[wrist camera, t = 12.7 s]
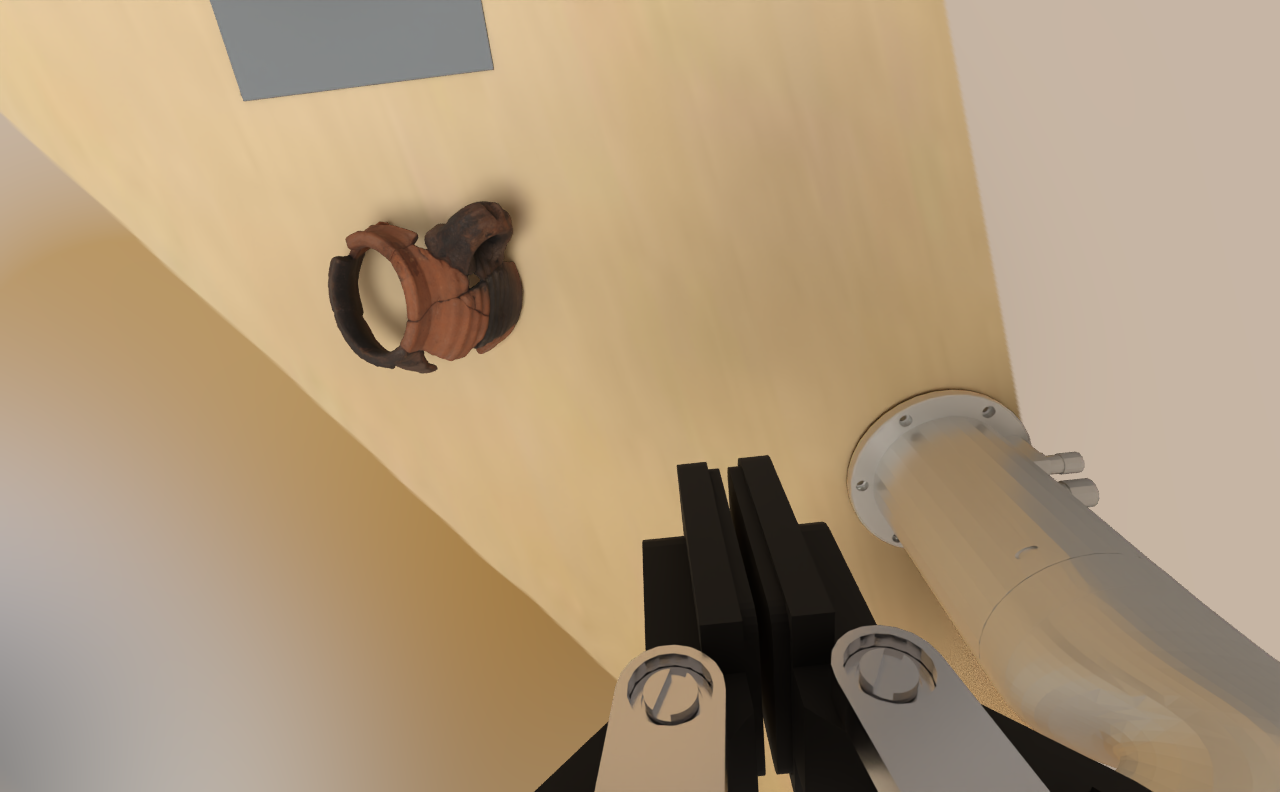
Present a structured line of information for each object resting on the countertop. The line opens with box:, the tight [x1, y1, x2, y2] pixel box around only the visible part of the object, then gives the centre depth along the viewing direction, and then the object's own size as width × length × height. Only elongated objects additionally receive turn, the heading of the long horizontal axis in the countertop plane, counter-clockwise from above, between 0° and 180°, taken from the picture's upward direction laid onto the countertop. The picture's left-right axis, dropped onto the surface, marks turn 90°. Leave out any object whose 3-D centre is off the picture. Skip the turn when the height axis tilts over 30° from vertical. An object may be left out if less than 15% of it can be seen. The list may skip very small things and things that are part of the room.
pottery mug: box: [328, 202, 522, 373], centre depth 36 cm, size 12×10×8 cm
